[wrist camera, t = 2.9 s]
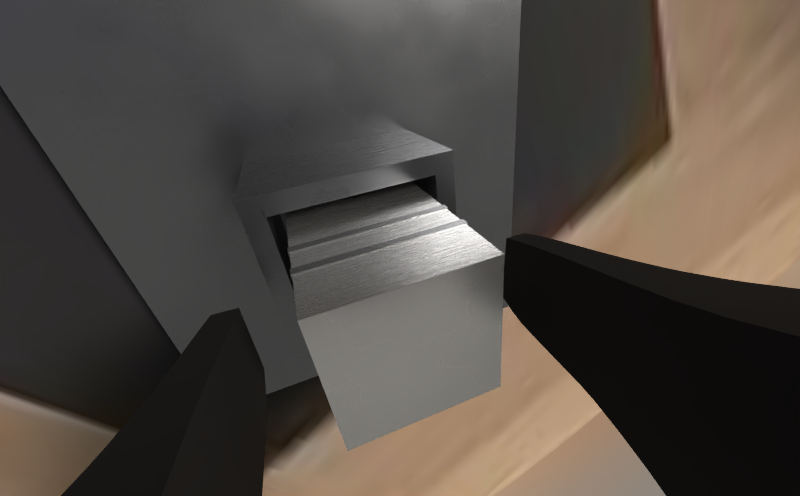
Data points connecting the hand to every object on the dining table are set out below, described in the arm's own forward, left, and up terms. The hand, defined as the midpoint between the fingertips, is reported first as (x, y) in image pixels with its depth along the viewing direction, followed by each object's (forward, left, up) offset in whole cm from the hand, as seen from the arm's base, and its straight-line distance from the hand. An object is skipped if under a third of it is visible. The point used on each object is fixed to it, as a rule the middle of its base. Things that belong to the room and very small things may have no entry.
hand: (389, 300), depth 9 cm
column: (0, 0, -6) cm, 6 cm away
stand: (0, 0, -6) cm, 6 cm away
